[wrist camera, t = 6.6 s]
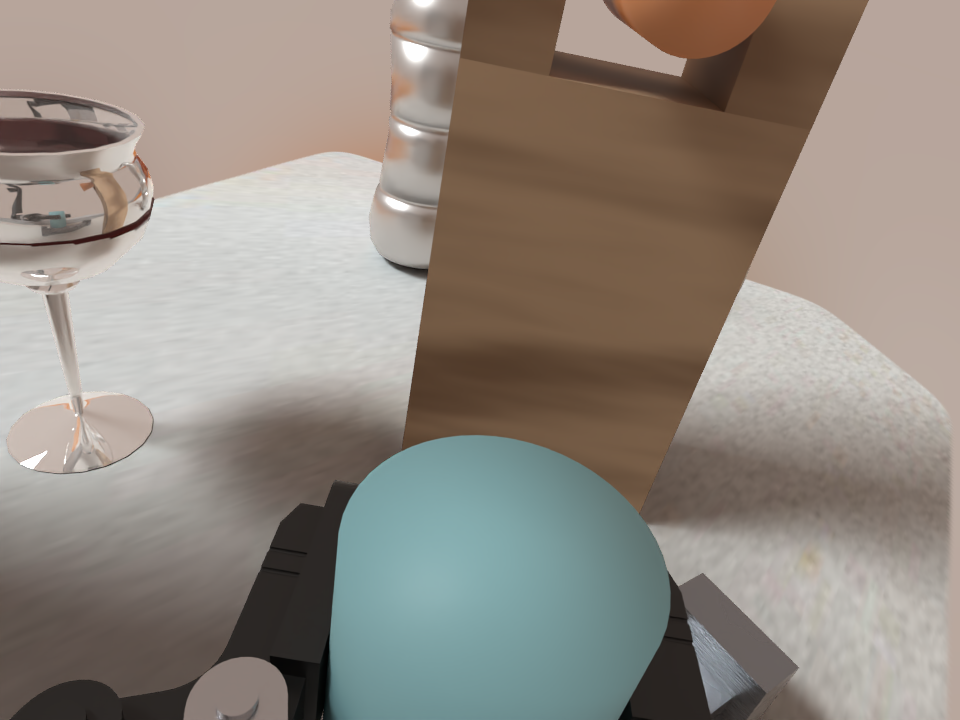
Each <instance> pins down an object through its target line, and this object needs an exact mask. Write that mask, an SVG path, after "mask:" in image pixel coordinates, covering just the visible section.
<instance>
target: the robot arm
mask: <svg viewBox="0 0 960 720" xmlns="http://www.w3.org/2000/svg"><path fill="white" fill-rule="evenodd" d="M359 485H360V484H354V483H348V482H343V481H337V480H335V481H334V483H333V485H332V487H331V490H330V493H329V495H328V498H327V501H326V504H325V506H324V507H320V506H314V505H308V504H303V503H300V504H299V505H298V506H297V507H296V508H295V509H294V510H293V511H292V512H291V513H290V514H289V515H288V516H287V517H286V518H285V519H283V520H282V521H281V522H280V525H279V527H278V529H277V532H276V534H275V536H274V538H273V541H272V543H271V545H270V549H269V551H268V552H267V555H266V557H265V559H264V562H263V564H262V566H261V570H260V572H259V573H258V575H257V578H256V580H255V582H254V585H253V587H252V589H251V591H250V594H249V596H248V598H247V601H246V603H245V605H244V608H243V610H242V612H241V615H240V617H239V619H238V621H237V624H236V626H235V628H234V631H233V633H232V635H231V638H230V640H229V642H228V644H227V647H226V648H225V650H224V652H223V654H222V655H221V657H220V658H219V659H218V661H217V662H216V663H215V664H214V665H213V666H212V667H211V668H210V669H209V670H208V671H207V672H205V673H204V674H203V675H202V676H200V677H198V678H197V679H195V680H194V681H192V682H190V683H188V684H186V685H183V686H181V687H178V688H175V689H171V690H167V691H162V692H155V693H149V694H143V695H137V696H131V697H125V698H118V696H117V694H116V693H115V692H114V691H113V690H112V689H111V688H110V687H108V686H107V685H105V684H103V683H100V682H97V681H92V680H76V681H69V682H66V683H62V684H59V685H56V686H54V687H52V688H49V689H47V690H46V691H44V692H42V693H40V694H39V695H37V696H36V697H34V698H33V699H32V700H30V701H29V702H28V703H27V704H26V705H24V706H23V707H22V708H21V709H20V710H19V711H18V712H17V713H16V714H15V715H14V716H13V717H12V718H11V719H10V720H321V717H322V713H323V709H324V700H325V688H326V676H327V664H328V653H329V641H330V629H331V617H332V605H333V593H334V581H335V570H336V558H337V546H338V534H339V528H340V524H341V521H342V517H343V513H344V511H345V509H346V507H347V504H348V502H349V500H350V498H351V497H352V495H353V493H354V492H355V490H356V489H357V487H358V486H359ZM667 572H668V571H667ZM668 577H669V584H670V591H671V594H670V613H669V618H668V624H667V628H666V631H665V633H664V636H663V639H662V641H661V644H660V646H659V648H658V649H657V651H656V653H655V655H654V657H653V658H652V660H651V662H650V664H649V665H648V667H647V669H646V671H645V673H644V674H643V676H642V678H641V680H640V682H639V683H638V685H637V687H636V689H635V690H634V692H633V694H632V696H631V698H630V699H629V701H628V703H627V705H626V706H625V708H624V710H623V712H622V714H621V715H620V717H619V719H618V720H712V718H711V714H710V710H709V706H708V701H707V697H706V693H705V689H704V685H703V680H702V676H701V672H700V668H699V664H698V659H697V655H696V651H695V647H694V646H693V644H692V643H693V638H692V634H691V630H690V626H689V624H688V623H687V620H688V617H687V613H686V609H685V605H684V600H683V596H682V592H681V591H680V589H679V588H678V586H677V585H676V583H675V582H674V580H673V578H672V577H671V575H670V574H669V572H668Z"/></svg>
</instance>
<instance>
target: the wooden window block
mask: <svg viewBox="0 0 960 720" xmlns="http://www.w3.org/2000/svg"><path fill="white" fill-rule="evenodd" d="M565 1H566V0H468V5H467V11H466V18H465V25H464V32H463V39H462V45H461V52H460V59H459V66H458V72H457V79H456V86H455V93H454V99H453V106H452V113H451V120H450V127H449V133H448V140H447V147H446V154H445V160H444V167H443V174H442V181H441V187H440V194H439V201H438V208H437V214H436V221H435V228H434V235H433V242H432V248H431V255H430V262H429V269H428V275H427V282H426V289H425V296H424V302H423V309H422V316H421V323H420V330H419V336H418V343H417V350H416V357H415V363H414V370H413V377H412V384H411V390H410V397H409V404H408V411H407V418H406V424H405V431H404V438H403V445H402V451H403V450H405V449H407V448H409V447H412V446H415V445H418V444H421V443H424V442H427V441H431V440H435V439H440V438H445V437H453V436H465V435H484V436H497V437H504V438H511V439H516V440H520V441H524V442H529V443H532V444H535V445H538V446H542V447H545V448H548V449H550V450H552V451H555V452H557V453H560V454H562V455H564V456H566V457H568V458H570V459H572V460H574V461H576V462H578V463H580V464H582V465H583V466H585V467H586V468H588V469H590V470H591V471H593V472H594V473H596V474H597V475H599V476H600V477H601V478H603V479H604V480H605V481H607V482H608V483H609V484H610V485H612V486H613V487H614V488H615V489H616V490H617V491H618V492H619V493H620V494H622V495H623V496H624V497H625V498H626V500H627V501H628V502H629V503H630V504H631V505H632V506H633V507H634V508H635V509H636V511H637V512H638V513H640V511H641V509H642V506H643V504H644V502H645V500H646V497H647V495H648V493H649V491H650V488H651V486H652V484H653V482H654V479H655V477H656V475H657V473H658V471H659V468H660V466H661V464H662V462H663V459H664V457H665V455H666V453H667V450H668V448H669V446H670V444H671V441H672V439H673V437H674V435H675V432H676V430H677V428H678V426H679V424H680V421H681V419H682V417H683V415H684V412H685V410H686V408H687V406H688V403H689V401H690V399H691V397H692V394H693V392H694V390H695V388H696V386H697V383H698V381H699V379H700V377H701V374H702V372H703V370H704V368H705V365H706V363H707V361H708V359H709V356H710V354H711V352H712V350H713V347H714V345H715V343H716V341H717V339H718V336H719V334H720V332H721V330H722V327H723V325H724V323H725V321H726V318H727V316H728V314H729V312H730V309H731V307H732V305H733V303H734V300H735V298H736V296H737V294H738V292H739V290H740V289H741V287H742V285H743V283H744V281H745V278H746V276H747V274H748V271H749V268H750V265H751V262H752V260H753V258H754V256H755V254H756V251H757V249H758V247H759V245H760V242H761V240H762V238H763V236H764V233H765V231H766V229H767V226H768V224H769V222H770V220H771V218H772V215H773V213H774V211H775V209H776V206H777V204H778V202H779V200H780V198H781V195H782V193H783V191H784V189H785V186H786V184H787V182H788V180H789V177H790V175H791V173H792V171H793V168H794V166H795V164H796V162H797V159H798V157H799V155H800V153H801V151H802V148H803V146H804V144H805V142H806V139H807V137H808V135H809V132H810V130H811V128H812V126H813V124H814V122H815V119H816V117H817V115H818V112H819V110H820V108H821V106H822V104H823V101H824V99H825V97H826V95H827V92H828V90H829V88H830V86H831V83H832V81H833V79H834V77H835V75H836V72H837V70H838V68H839V65H840V63H841V61H842V59H843V57H844V54H845V52H846V50H847V48H848V45H849V43H850V41H851V39H852V36H853V34H854V32H855V30H856V28H857V25H858V23H859V21H860V18H861V16H862V14H863V12H864V9H865V7H866V5H867V3H868V1H869V0H777V1H776V2H775V4H774V6H773V8H772V9H771V11H770V13H769V14H768V15H767V17H766V18H765V20H764V21H763V22H762V23H761V25H760V26H759V27H758V28H757V29H756V30H755V31H754V32H753V33H752V34H751V35H750V36H749V37H748V38H746V39H745V40H744V41H742V42H741V43H740V44H738V45H737V46H735V47H733V48H731V49H730V50H728V51H725V52H723V53H721V54H718V55H715V56H711V57H707V58H700V59H687V61H686V64H685V67H684V70H683V73H682V76H681V77H679V76H674V75H669V74H664V73H660V72H655V71H650V70H645V69H641V68H636V67H631V66H626V65H621V64H617V63H612V62H607V61H602V60H597V59H592V58H588V57H583V56H578V55H573V54H568V53H564V52H558V51H555V46H556V42H557V37H558V33H559V28H560V23H561V19H562V14H563V10H564V6H565Z"/></svg>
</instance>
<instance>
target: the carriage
mask: <svg viewBox="0 0 960 720" xmlns="http://www.w3.org/2000/svg"><path fill="white" fill-rule="evenodd" d="M670 594H671V591H670V584H669V577H668V572H667V568H666V565H665V561H664V558H663V555H662V553H661V550H660V548H659V546H658V544H657V541H656V539H655V538H654V536H653V534H652V532H651V531H650V529H649V527H648V526H647V524H646V523H645V521H644V520H643V519H642V517H641V516H640V515H639V513H638V512H637V511H636V509H635V508H634V507H633V506H632V505H631V504H630V503H629V502H628V501H627V500H626V498H625V497H624V496H623V495H622V494H620V493H619V492H618V491H617V490H616V489H615V488H614V487H613V486H612V485H610V484H609V483H608V482H607V481H605V480H604V479H603V478H601V477H600V476H599V475H597V474H596V473H594V472H593V471H591V470H590V469H588V468H586V467H585V466H583V465H582V464H580V463H578V462H576V461H574V460H572V459H570V458H568V457H566V456H564V455H562V454H560V453H557V452H555V451H552V450H550V449H548V448H545V447H542V446H538V445H535V444H532V443H529V442H524V441H520V440H516V439H511V438H504V437H497V436H484V435H465V436H453V437H445V438H440V439H435V440H431V441H427V442H424V443H421V444H418V445H415V446H412V447H409V448H407V449H405V450H403V451H401V452H399V453H397V454H395V455H393V456H392V457H390V458H389V459H387V460H386V461H384V462H382V463H381V464H380V465H379V466H378V467H376V468H375V469H374V470H373V471H372V472H370V473H369V474H368V476H367V477H366V478H365V479H364V480H363V481H362V482H361V483H360V485H359V486H358V487H357V489H356V490H355V492H354V493H353V495H352V497H351V498H350V500H349V502H348V504H347V507H346V509H345V511H344V513H343V517H342V521H341V524H340V528H339V534H338V546H337V558H336V570H335V581H334V593H333V605H332V617H331V629H330V641H329V653H328V664H327V676H326V688H325V700H324V711H323V720H618V719H619V717H620V715H621V714H622V712H623V710H624V708H625V706H626V705H627V703H628V701H629V699H630V698H631V696H632V694H633V692H634V690H635V689H636V687H637V685H638V683H639V682H640V680H641V678H642V676H643V674H644V673H645V671H646V669H647V667H648V665H649V664H650V662H651V660H652V658H653V657H654V655H655V653H656V651H657V649H658V648H659V646H660V644H661V641H662V639H663V636H664V633H665V631H666V628H667V624H668V618H669V613H670Z"/></svg>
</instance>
